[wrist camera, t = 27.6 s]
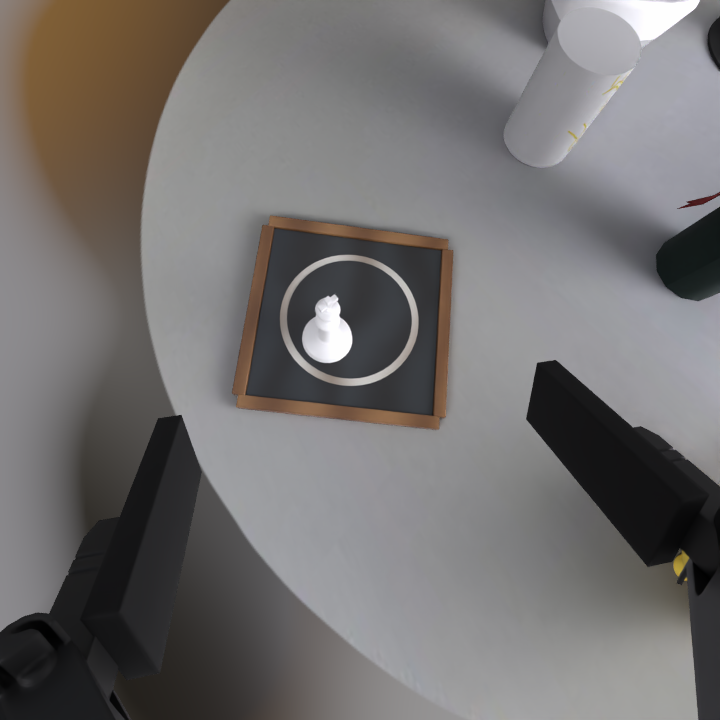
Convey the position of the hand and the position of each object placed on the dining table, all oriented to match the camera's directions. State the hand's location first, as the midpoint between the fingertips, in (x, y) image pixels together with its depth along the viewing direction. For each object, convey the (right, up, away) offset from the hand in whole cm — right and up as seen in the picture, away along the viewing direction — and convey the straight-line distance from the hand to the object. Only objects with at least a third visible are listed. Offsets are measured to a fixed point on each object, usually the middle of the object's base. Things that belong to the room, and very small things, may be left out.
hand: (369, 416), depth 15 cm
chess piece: (-4, +4, +26) cm, 26 cm away
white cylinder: (+21, +29, +35) cm, 50 cm away
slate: (-1, +6, +27) cm, 28 cm away
